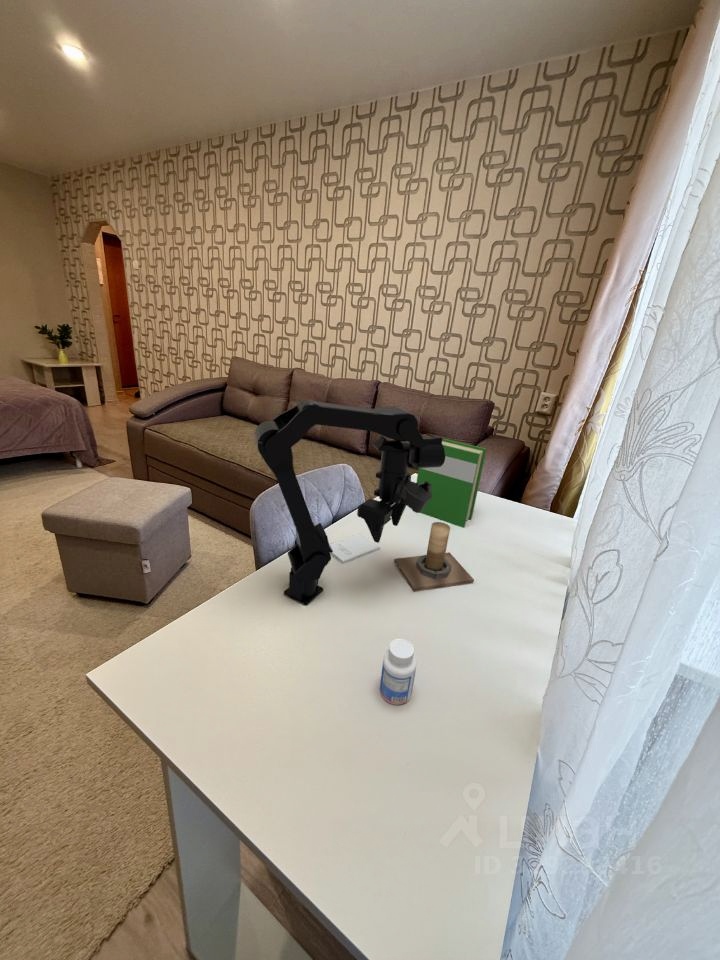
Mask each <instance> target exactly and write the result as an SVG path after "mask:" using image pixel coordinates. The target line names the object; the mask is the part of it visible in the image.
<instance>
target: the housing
mask: <svg viewBox="0 0 720 960" xmlns="http://www.w3.org/2000/svg"><path fill="white" fill-rule="evenodd" d="M425 560H426V554H423V555H414V556H409V557H408V556H407V557H398V558H394V561H393V562H394V564H395V566H396V567H397V568H398V570H399V572H400V573H401V575H402V577H404V579H405V581H406V583H407V584H408V586H409V587H410V589H411V590H412V592H413V593H414V592H421V591H427V590H434V589H443V588H448V587H450V588H451V587H455V586H463V585H469V584H474V582H475V579H474V578H473V577H472V575H471V574H470V573H469V572H468V570H466V569H465V568H464V566H463V565H462V564H461V563H460V562H459V561H458V560H457V558H455V556H453V555H452V553H451V552H450V551H449V552H446V553H445V558H444V563H443V568H442V571H436V572H435V571H432V570H429V569H426V568H425V567H424V566H425Z"/></svg>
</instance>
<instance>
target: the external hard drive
mask: <svg viewBox="0 0 720 960" xmlns="http://www.w3.org/2000/svg"><path fill="white" fill-rule="evenodd" d="M329 544H330V543H329ZM330 546H331V548H332V550H333V552H330V555H331V556H333V557H334V558H335V559H336V560H337V561H338V562H339V563H340V564H341V565H344V564H346V563H349V562H352V561H355V560H356V559H360V558H362V557H364V556H367V555H370V554H372V553H374V552H377V551H379V550H380V548H381V547H380V546H379V544H378V543H377V542H375V541H374V540H372V539H370V538H368V537H367V536H366V535H364V534H363V533H358V534H356V535H353V536H350V537H347V538H344V539H342V540H338V541H336V542H334V543H331V544H330Z"/></svg>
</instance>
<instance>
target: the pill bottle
mask: <svg viewBox="0 0 720 960" xmlns="http://www.w3.org/2000/svg"><path fill="white" fill-rule="evenodd" d="M417 664H418V663H417V659H416V657H415V648H414V645H413V644H412V642H410V641H409V640H407V639H404V638H396V639H393V640H392V641H391V642H390V643H389V646H388V649H387V651H386V652H385V653H384V655H383V659H382V665H381V666H382V668H381V676H380V684H379V689H380V690H379V691H380V695H381V696H382V697H383V699H384V700H386V702H388V703H390V704H392V705H403V704H405V703H407V702H408V701H410V699H411V697H412V694H413V689H414V682H415V677H416V670H417Z"/></svg>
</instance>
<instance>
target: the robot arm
mask: <svg viewBox="0 0 720 960" xmlns="http://www.w3.org/2000/svg"><path fill="white" fill-rule="evenodd" d="M316 425H317V426H323V427H324V426H326V427H333V428H342V429H352V430H358V431H359V430H360V431H365V432H366V431H367V432H373V433H376V434H378V435H381V436H380V437H379V438H377V440H375V441H374V442H372V446H373V447H374V448H375V449H376V450H378V452H381V457H380V458H381V459H380V465H379V466H380V469H379V471H377V472H375V478H376V479H378V486H377V487H378V488H376V489H375V490H374V492H373V495H374V496H375V497H379V499H380V500H377V499H374V498H369V499H367V500H366V501H364V502H362V503H361V504H360V505H358V506H357V511H356V515H357V517H359V518H361V519H363V520H364V522H365V524H366V526H367V528H368V530H369V532H370V535H371V537H372V541H373V542H374V543H376V544H378V543H380V541H381V538H382V534H383V531H384V527H385V525H387V524H388V523H389V522H390V521H391V522H392V525H393V526H395V527H397V526H398V525H399V523H400V521H401V518H402V516H403V513H404V511H405V510H406V507H408V508H410V509H411V510H412V512H414V513H416V514H421V513H420V512H421V511H422V510H423V509H424V508H425V507H426V505H427V503H428V502H429V500H430V499H431V498H432V492H431V484H430V483H429V482H427V481H425V482H423V483H422V484H420V485H418V483H416V482H414V481H412V475H411V473H409V472H408V468H409V464H410V465H411V466H412V467H413V468H414V469H419V468H432V467H441V466H442V465H443V464H444V462H445V457H446V456H445V451H444V447H443V444H442V438H443V437H441V436H440V435H439V434H435V435H429V436H427V435H426V436H422V434H421V433H420V431H419V429H418V426H419V423H418V420H417V418H416V416H415V414H412V413H410V412H409V411H407V410H405V409H403V408H402V407H400V406H396V405H395V406H380V407H377V408H376V407H375V408H366V407H365V408H363V407H357V406H351V405H342V404H335V403H329V402H323V401H316V400H313V399H311V398H310V399H309V398H307V399H306V398H305V399H302V400H301V401H300V402H298V403H297V404H296V405H294V406H293V407H291V408H289V409H287V410H285V411H283V412H281V413H280V414H278V415H277V416H275V417H274V418H272V419H271V420H266V421H263V422H261V423H259V425H258V426H257V427H256V428H255V430H254V434H253V436H254V441H255V444H256V446H257V451H258V453H259V454H260V457H262V459H263V461H264V462H265V463H266V465H267V467H268V468H269V470H270V471H271V472H272V474H273V475H274V476H275V479H276V481H277V484H278V485H279V489H280V491H281V494H282V496H283V498H284V502H285V503H286V507H287V509H288V511H289V513H290V514H289V515H290V517H291V519H292V521H293V525H294V527H295V537H296V542H297V543H296V544H295V545H294V546H293V547H292V548H290V549H289V551H288V552H287V556H288V559H289V562H290V566H291V567H290V572H289V575H288V579H289V581H288V583H289V584H288V587H287V588H285V590H284V591H283V595H285V596H287V597H288V598H289V599H292V600H294V601H296V602H297V603H300V604H301V605H304V606H308V605H309V604H310V603H311V602H313V600H314V599H315V598H317V596H319V595H320V594H321V593H322V592H323V591H324V587H323V586H320V585H318V584H319V579H320V578H321V575H322V574H323V571H324V569H325V567H327V565H328V564H329V563H330V561H331V560H332V555H331V554H330V552H333V550H332V548H331V546H330V542H329V538H328V535H327V533H326V531H325V528H324V527H323V526H322V523H321V522H318V523H317V524H314V522H313V519H312V516H311V513H310V510H309V508H308V506H307V502H306V499H305V498H304V495H303V492H302V489H301V486H300V484H299V480H298V478H297V475H296V473H295V469H294V455H293V448H292V447H294V446H295V445H296V444H298V443H299V442H300V440H302V439H303V438H304V437H305V435H306V434H307V433H308V432H309V431H310V429H311V428H313V427H315V426H316ZM387 438H389V439H387Z"/></svg>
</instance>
